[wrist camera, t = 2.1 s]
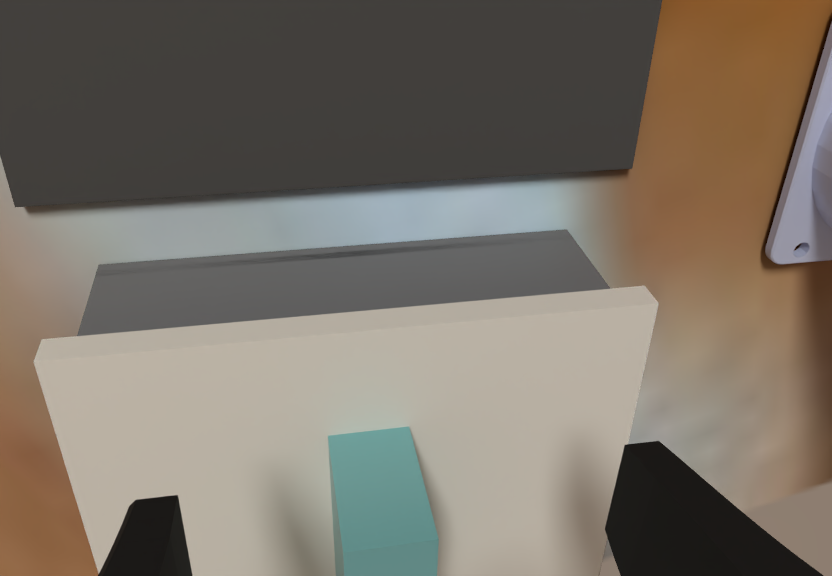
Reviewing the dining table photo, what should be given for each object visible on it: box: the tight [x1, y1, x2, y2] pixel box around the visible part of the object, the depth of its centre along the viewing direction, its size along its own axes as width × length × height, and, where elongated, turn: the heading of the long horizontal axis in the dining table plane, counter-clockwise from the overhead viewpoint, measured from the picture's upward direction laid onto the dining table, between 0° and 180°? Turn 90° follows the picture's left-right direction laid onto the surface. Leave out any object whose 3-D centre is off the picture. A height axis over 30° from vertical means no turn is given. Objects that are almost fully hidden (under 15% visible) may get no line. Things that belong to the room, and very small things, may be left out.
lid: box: [34, 286, 659, 576], centre depth 20 cm, size 14×12×5 cm
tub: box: [77, 230, 610, 336], centre depth 23 cm, size 13×11×4 cm
